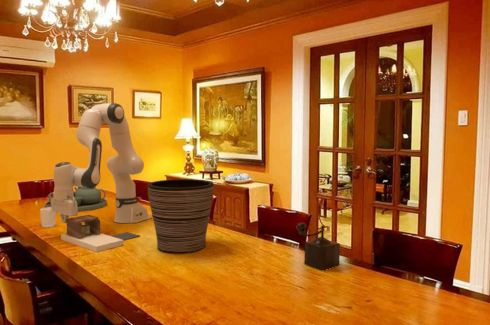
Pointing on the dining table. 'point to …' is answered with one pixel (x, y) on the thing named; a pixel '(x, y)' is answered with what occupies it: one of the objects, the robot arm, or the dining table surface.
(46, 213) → the white cup
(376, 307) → the dining table surface
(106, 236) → the puzzle board
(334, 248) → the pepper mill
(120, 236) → the mat
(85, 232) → the block
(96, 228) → the cover
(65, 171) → the robot arm
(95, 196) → the tea set
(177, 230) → the planter pot
